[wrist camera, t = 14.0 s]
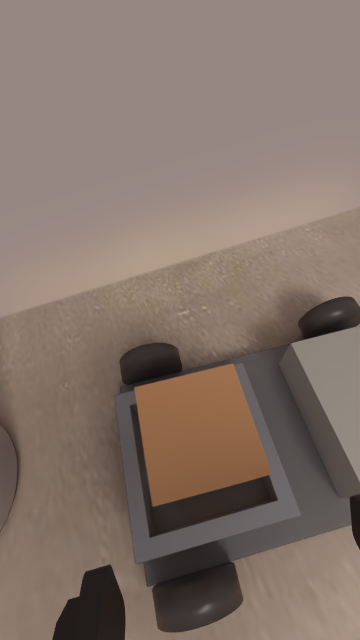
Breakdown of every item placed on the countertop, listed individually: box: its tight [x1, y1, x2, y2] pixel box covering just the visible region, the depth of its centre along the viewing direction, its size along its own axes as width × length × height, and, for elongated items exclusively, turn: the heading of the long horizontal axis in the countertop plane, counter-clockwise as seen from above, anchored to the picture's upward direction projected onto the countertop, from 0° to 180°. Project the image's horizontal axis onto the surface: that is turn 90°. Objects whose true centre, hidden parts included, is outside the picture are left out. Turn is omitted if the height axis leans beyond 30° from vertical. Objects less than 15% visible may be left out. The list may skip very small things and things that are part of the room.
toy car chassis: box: [114, 297, 360, 632], centre depth 21 cm, size 22×16×6 cm
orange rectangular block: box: [134, 363, 272, 507], centre depth 17 cm, size 5×5×10 cm
